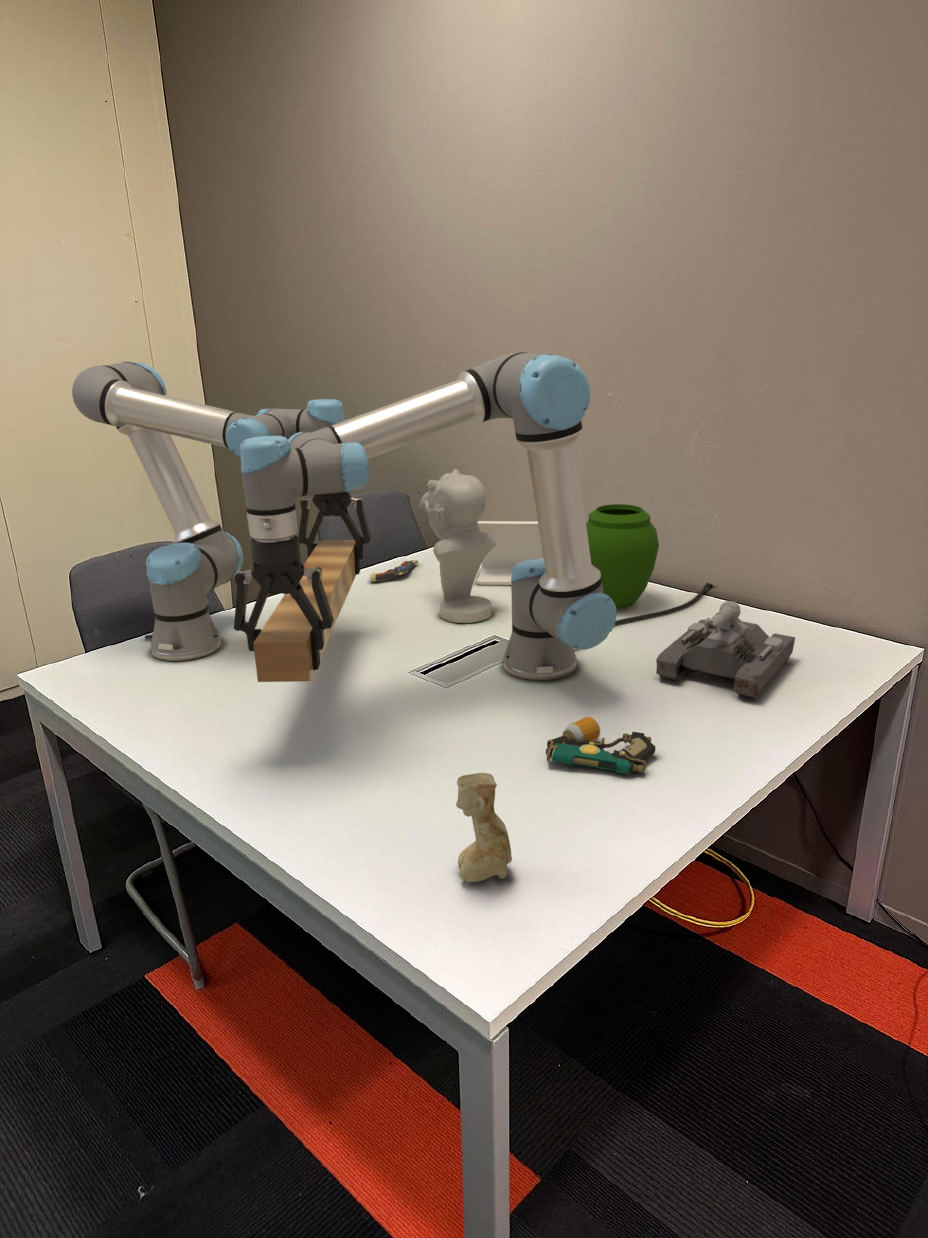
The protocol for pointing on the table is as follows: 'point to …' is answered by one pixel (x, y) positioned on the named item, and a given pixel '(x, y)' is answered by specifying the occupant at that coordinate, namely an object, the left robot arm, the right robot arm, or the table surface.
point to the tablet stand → (509, 549)
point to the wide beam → (288, 630)
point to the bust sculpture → (459, 543)
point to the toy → (727, 651)
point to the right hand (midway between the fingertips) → (289, 667)
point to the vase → (622, 550)
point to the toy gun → (394, 571)
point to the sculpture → (482, 830)
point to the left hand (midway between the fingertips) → (337, 572)
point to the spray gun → (599, 748)
